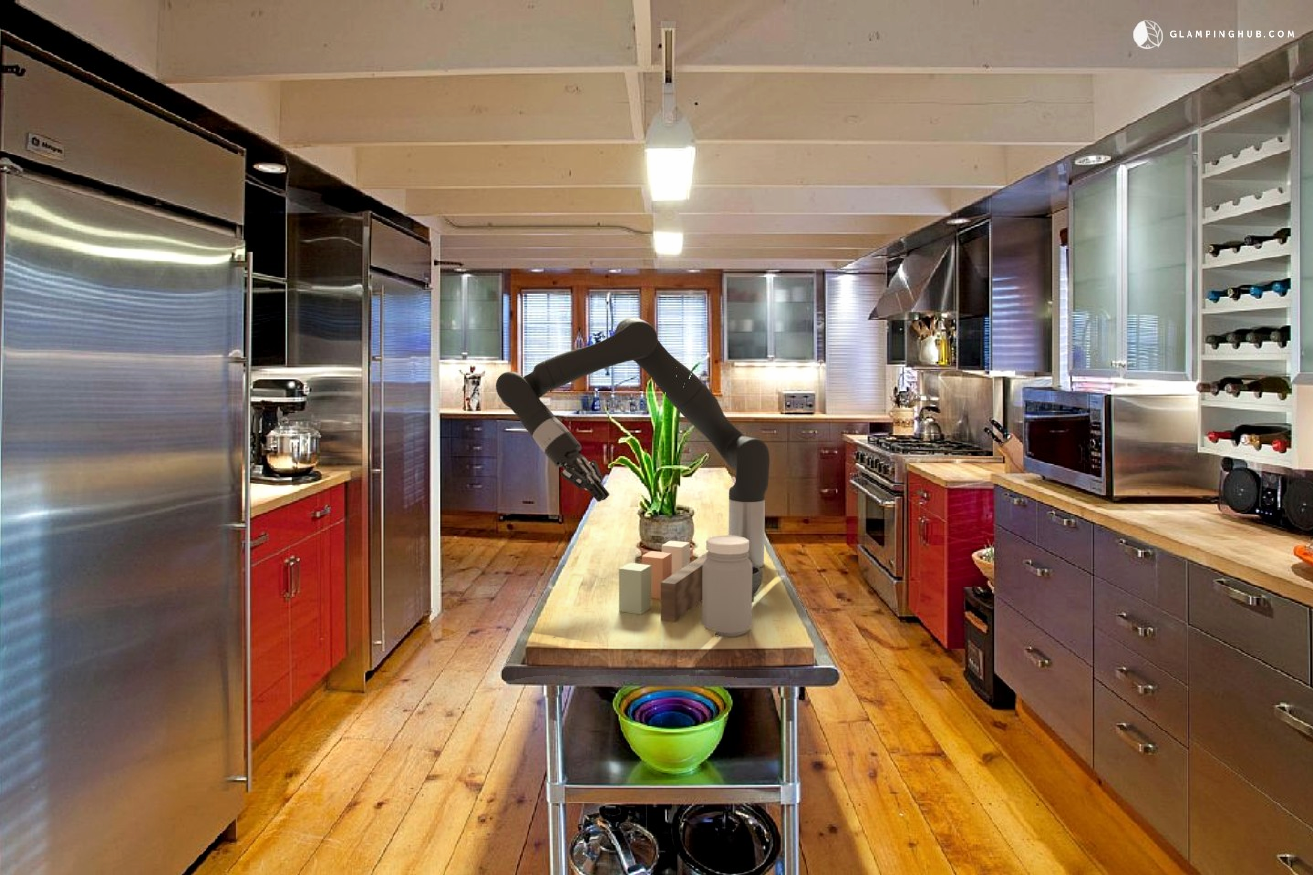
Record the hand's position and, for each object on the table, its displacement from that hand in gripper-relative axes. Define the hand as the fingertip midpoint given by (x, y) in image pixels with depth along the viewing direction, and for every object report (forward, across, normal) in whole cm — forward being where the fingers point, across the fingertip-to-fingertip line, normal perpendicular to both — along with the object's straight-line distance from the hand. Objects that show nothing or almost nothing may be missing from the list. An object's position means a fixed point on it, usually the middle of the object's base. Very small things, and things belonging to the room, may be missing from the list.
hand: (604, 498), depth 173 cm
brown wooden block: (+26, 0, +5) cm, 26 cm away
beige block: (+24, +11, +5) cm, 27 cm away
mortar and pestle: (+37, +7, -6) cm, 38 cm away
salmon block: (+24, 0, +5) cm, 24 cm away
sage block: (+24, -11, +6) cm, 27 cm away
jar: (+39, -11, -8) cm, 41 cm away
